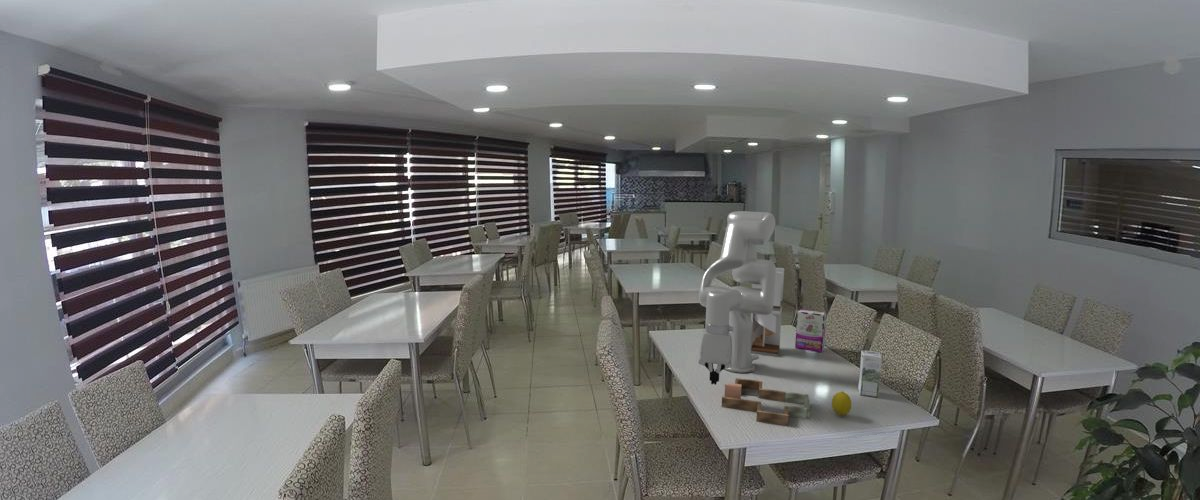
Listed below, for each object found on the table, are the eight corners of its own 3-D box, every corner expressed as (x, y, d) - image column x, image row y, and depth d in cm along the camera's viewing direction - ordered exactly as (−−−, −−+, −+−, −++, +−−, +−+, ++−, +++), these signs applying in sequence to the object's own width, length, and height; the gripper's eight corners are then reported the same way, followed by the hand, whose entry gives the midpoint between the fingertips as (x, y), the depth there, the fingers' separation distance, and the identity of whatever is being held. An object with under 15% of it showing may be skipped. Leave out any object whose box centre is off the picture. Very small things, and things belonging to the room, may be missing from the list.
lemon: (827, 412, 173) (829, 388, 172) (844, 412, 174) (846, 387, 173) (836, 420, 168) (838, 395, 167) (853, 419, 168) (856, 395, 167)
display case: (748, 353, 229) (752, 270, 224) (751, 345, 239) (756, 266, 234) (777, 357, 225) (782, 272, 220) (779, 349, 234) (784, 268, 229)
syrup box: (875, 391, 190) (879, 351, 188) (878, 398, 185) (882, 356, 183) (857, 389, 192) (861, 349, 190) (859, 395, 187) (863, 354, 185)
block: (724, 402, 180) (724, 388, 179) (725, 396, 185) (726, 382, 184) (739, 404, 179) (740, 390, 178) (740, 398, 183) (741, 384, 182)
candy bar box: (824, 350, 234) (827, 312, 232) (822, 353, 230) (824, 315, 228) (797, 345, 240) (799, 308, 238) (794, 348, 236) (796, 311, 234)
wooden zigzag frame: (719, 415, 170) (719, 406, 170) (726, 384, 195) (727, 376, 194) (810, 428, 162) (811, 419, 162) (806, 395, 187) (807, 386, 186)
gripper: (741, 328, 181) (738, 382, 183) (695, 324, 186) (693, 376, 188) (739, 334, 174) (736, 390, 176) (692, 329, 178) (689, 383, 181)
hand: (714, 383), depth 182 cm, fingers closed
